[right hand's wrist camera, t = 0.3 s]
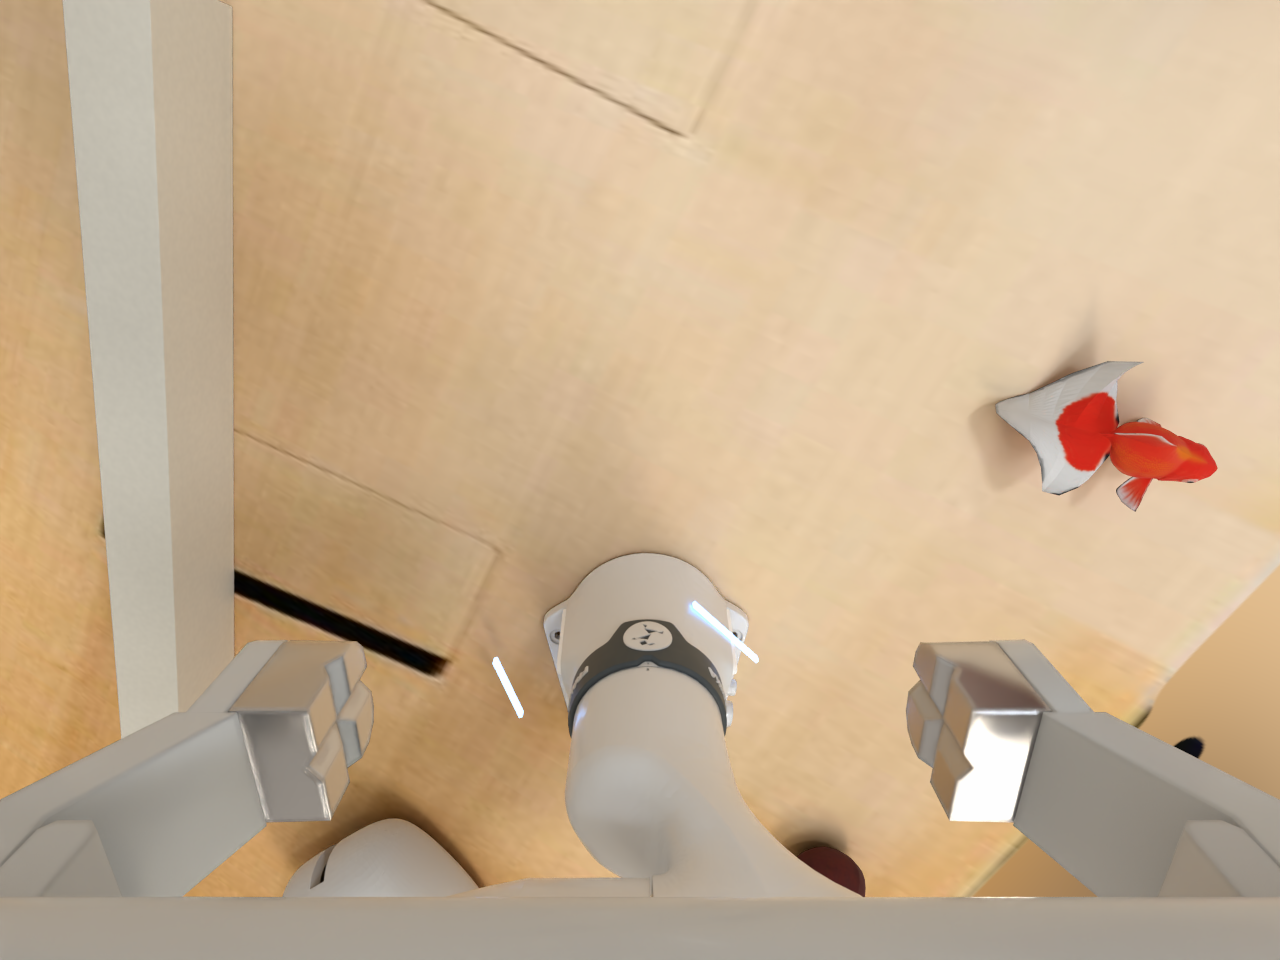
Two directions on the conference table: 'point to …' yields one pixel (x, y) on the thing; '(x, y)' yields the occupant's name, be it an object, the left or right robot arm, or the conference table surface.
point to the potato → (835, 867)
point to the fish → (1100, 436)
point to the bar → (160, 331)
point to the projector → (382, 866)
